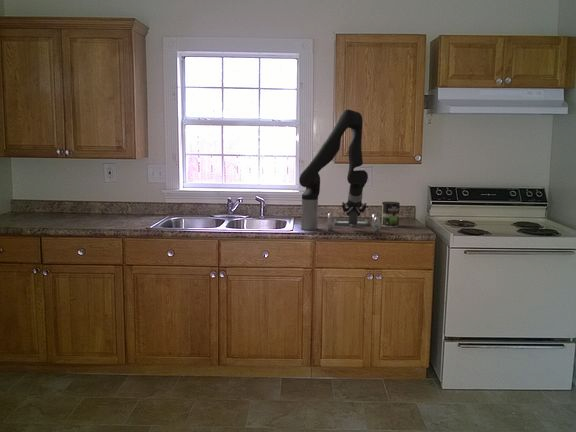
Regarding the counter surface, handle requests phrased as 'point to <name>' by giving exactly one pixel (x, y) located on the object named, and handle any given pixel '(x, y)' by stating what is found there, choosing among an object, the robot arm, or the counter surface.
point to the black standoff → (353, 216)
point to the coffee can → (390, 214)
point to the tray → (345, 222)
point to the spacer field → (374, 225)
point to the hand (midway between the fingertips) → (353, 215)
